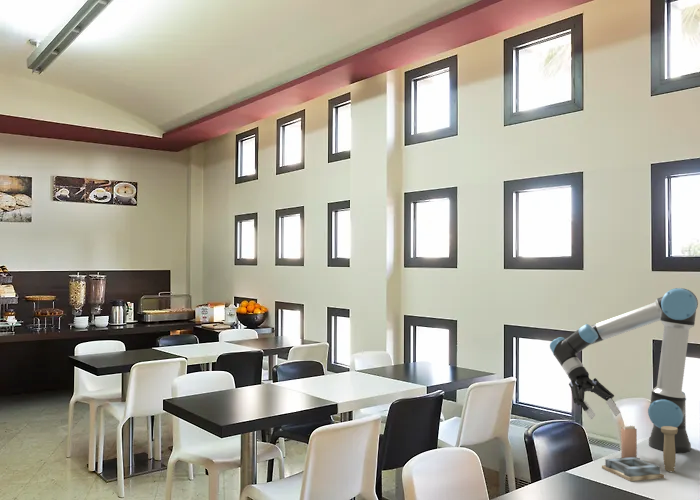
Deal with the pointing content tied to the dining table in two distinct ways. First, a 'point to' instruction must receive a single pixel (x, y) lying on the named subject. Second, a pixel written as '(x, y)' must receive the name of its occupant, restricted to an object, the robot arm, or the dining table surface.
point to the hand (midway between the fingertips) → (605, 415)
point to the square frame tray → (632, 469)
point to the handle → (669, 447)
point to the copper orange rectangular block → (628, 441)
